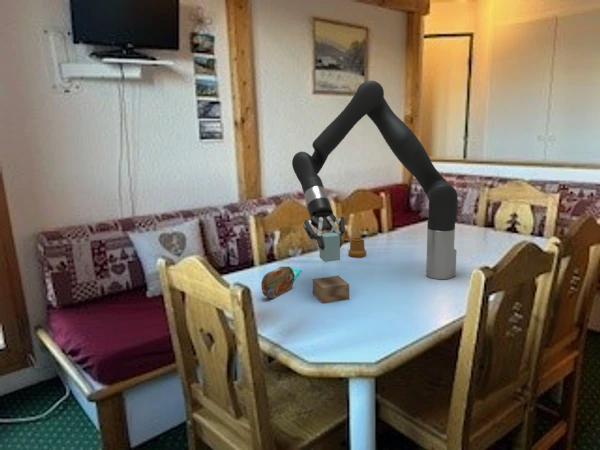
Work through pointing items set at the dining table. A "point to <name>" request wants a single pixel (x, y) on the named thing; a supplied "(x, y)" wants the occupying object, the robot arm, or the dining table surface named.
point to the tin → (277, 282)
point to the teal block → (330, 247)
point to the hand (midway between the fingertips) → (331, 247)
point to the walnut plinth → (330, 289)
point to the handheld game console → (296, 272)
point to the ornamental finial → (357, 247)
